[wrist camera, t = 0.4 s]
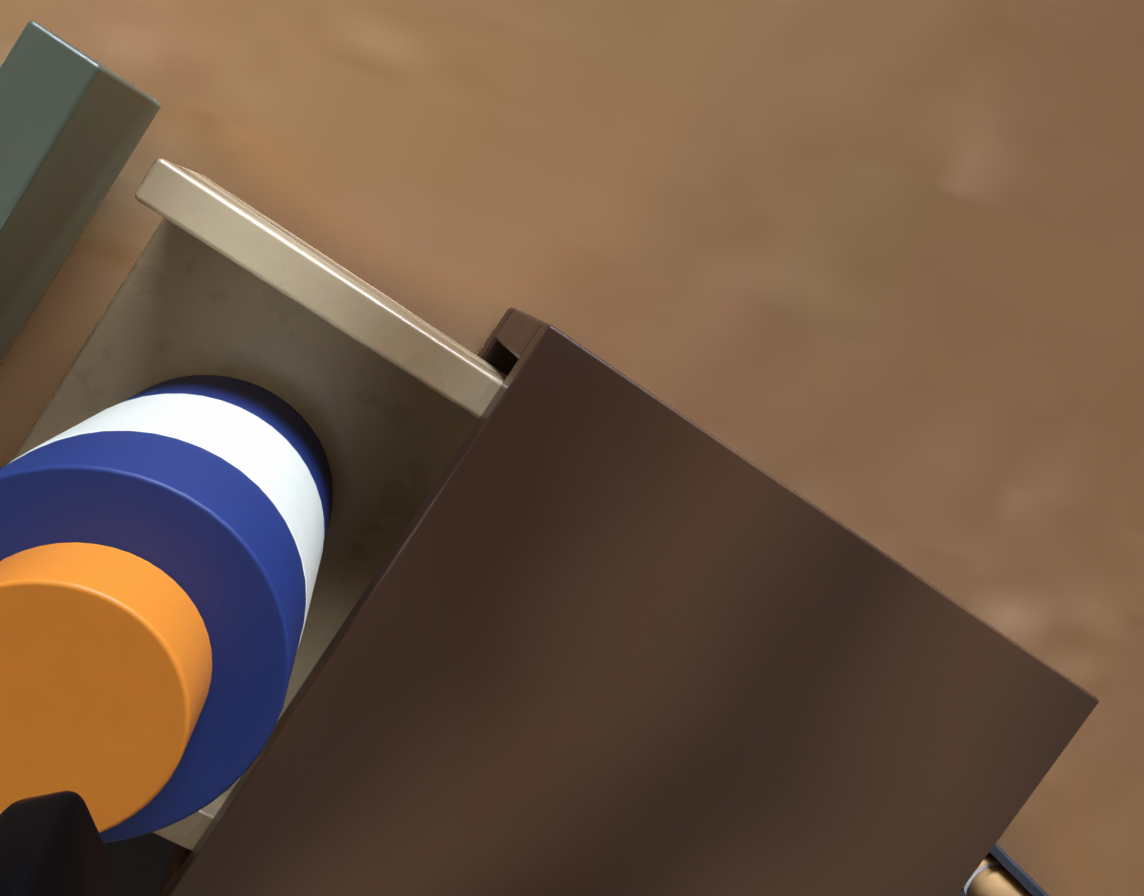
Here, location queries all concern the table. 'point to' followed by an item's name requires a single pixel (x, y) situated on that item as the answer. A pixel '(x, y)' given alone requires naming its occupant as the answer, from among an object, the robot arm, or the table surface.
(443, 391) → the drawer
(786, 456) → the table surface
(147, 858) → the smartphone
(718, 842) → the cabinet
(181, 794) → the glue bottle
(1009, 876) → the ammunition clip
